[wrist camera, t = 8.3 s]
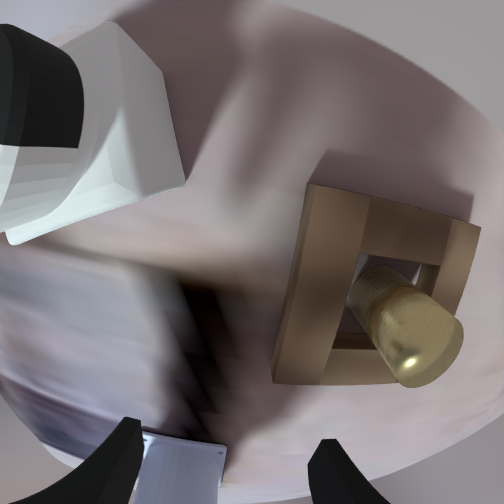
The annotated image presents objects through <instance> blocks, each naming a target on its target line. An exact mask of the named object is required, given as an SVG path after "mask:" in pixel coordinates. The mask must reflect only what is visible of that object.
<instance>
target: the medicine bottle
mask: <svg viewBox="0 0 504 504" xmlns="http://www.w3.org/2000/svg"><path fill="white" fill-rule="evenodd" d="M184 184H185V176H184V172H183V167H182V163H181V159H180V154H179V150H178V146H177V141H176V136H175V132H174V127H173V123H172V118H171V113H170V108H169V103H168V98H167V93H166V88H165V83H164V78H163V73H162V71H161V70H160V69H159V68H158V67H157V65H156V64H155V63H154V62H153V61H152V60H151V59H150V58H149V57H148V56H147V55H146V54H145V52H144V51H143V50H142V49H141V48H140V47H139V46H138V45H137V44H136V43H135V42H134V41H133V40H132V39H131V38H130V37H129V36H128V35H127V33H126V32H125V31H124V30H123V29H122V28H121V27H120V26H119V25H118V24H117V23H114V22H111V21H110V22H106V23H104V24H102V25H100V26H98V27H96V28H94V29H92V30H90V31H88V32H86V33H84V34H82V35H80V36H78V37H76V38H75V39H73V40H71V41H69V42H68V43H66V44H64V45H62V46H61V47H59V48H58V47H56V46H54V45H52V44H50V43H48V42H46V41H44V40H42V39H40V38H38V37H36V36H34V35H32V34H30V33H28V32H26V31H24V30H22V29H20V28H18V27H15V26H13V25H10V24H0V233H1V232H3V231H5V232H6V236H7V239H8V242H9V243H10V244H11V245H18V244H21V243H23V242H25V241H28V240H30V239H33V238H35V237H38V236H40V235H43V234H45V233H48V232H50V231H53V230H56V229H58V228H61V227H64V226H66V225H69V224H72V223H74V222H77V221H80V220H83V219H86V218H89V217H91V216H94V215H97V214H100V213H103V212H106V211H109V210H112V209H115V208H118V207H122V206H125V205H128V204H131V203H134V202H138V201H141V200H144V199H147V198H150V197H153V196H156V195H159V194H162V193H165V192H168V191H172V190H175V189H178V188H181V187H183V186H184Z"/></svg>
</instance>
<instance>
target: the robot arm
mask: <svg viewBox="0 0 504 504" xmlns="http://www.w3.org/2000/svg"><path fill="white" fill-rule="evenodd" d="M226 451H227V447H226V446H224V445H220V444H212V443H204V442H197V441H190V440H184V439H178V438H173V437H168V436H163V435H158V434H153V433H149V432H145V431H142V427H141V420H137V419H133V418H130V417H124V418H123V419H122V421H121V422H120V423H119V424H118V426H117V427H116V428H115V429H114V431H113V432H112V433H111V434H110V435H109V436H108V438H107V439H106V440H105V441H104V442H103V443H102V444H101V445H100V446H99V447H98V448H97V449H96V450H95V451H94V452H93V453H92V454H91V455H90V456H89V457H88V458H87V459H86V460H85V461H84V462H83V463H81V464H80V465H79V466H78V467H77V468H76V469H74V470H73V471H72V472H70V473H69V474H68V475H66V476H65V477H64V478H62V479H61V480H59V481H57V482H56V483H54V484H53V485H51V486H49V487H48V488H46V489H44V490H42V491H40V492H38V493H36V494H34V495H31V496H29V497H27V498H25V499H22V500H19V501H16V502H12V503H9V504H128V502H129V499H130V496H131V493H132V490H133V488H134V485H135V482H136V479H137V476H138V473H139V470H140V467H141V463H142V458H143V456H144V463H143V467H142V470H141V474H140V477H139V481H138V485H137V488H136V493H135V496H134V500H133V504H217V499H218V488H220V485H221V479H222V474H223V468H224V463H225V457H226ZM308 479H309V487H310V491H311V496H312V501H313V504H390V503H389V502H388V501H387V500H386V499H385V498H384V497H383V496H381V494H380V493H379V492H378V491H377V490H376V489H375V488H374V487H373V486H372V485H371V484H370V483H369V482H368V481H367V479H366V478H365V477H364V476H363V475H362V473H361V472H360V471H359V470H358V468H357V467H356V466H355V464H354V463H353V462H352V460H351V459H350V458H349V456H348V455H347V454H346V452H345V451H344V449H343V448H342V446H341V445H340V444H339V442H338V441H337V440H336V439H322V440H321V442H320V444H319V446H318V447H317V449H316V451H315V453H314V454H313V456H312V458H311V459H310V461H309V463H308Z"/></svg>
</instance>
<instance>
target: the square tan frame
mask: <svg viewBox="0 0 504 504" xmlns="http://www.w3.org/2000/svg"><path fill="white" fill-rule="evenodd" d="M480 231H481V227H479V226H476V225H473V224H470V223H467V222H464V221H461V220H458V219H455V218H451V217H448V216H445V215H441V214H438V213H434V212H431V211H427V210H424V209H420V208H416V207H413V206H409V205H405V204H401V203H397V202H393V201H389V200H385V199H381V198H377V197H373V196H368V195H364V194H359V193H355V192H350V191H345V190H341V189H336V188H331V187H326V186H321V185H316V184H310V183H307V187H306V193H305V198H304V204H303V210H302V216H301V221H300V227H299V232H298V237H297V243H296V248H295V253H294V258H293V264H292V269H291V274H290V278H289V283H288V288H287V293H286V298H285V303H284V307H283V312H282V316H281V321H280V326H279V330H278V334H277V339H276V343H275V348H274V352H273V356H272V360H271V372H272V380H273V383H275V384H293V385H370V384H388V383H399V382H398V380H397V379H396V377H395V376H394V374H393V372H392V371H391V369H390V368H389V366H388V365H387V363H386V362H385V360H384V359H383V357H382V356H381V354H380V353H379V351H378V350H377V348H376V347H375V345H374V344H373V342H372V341H371V339H370V338H369V336H368V335H367V334H357V333H338V332H337V330H338V327H339V323H340V320H341V317H342V314H343V310H344V307H345V303H346V300H347V296H348V293H349V289H350V286H351V282H352V278H353V274H354V270H355V267H356V263H357V259H358V254H359V253H363V254H370V255H376V256H383V257H389V258H395V259H402V260H408V261H414V262H420V263H423V264H422V267H421V270H420V274H419V277H418V280H417V284H416V286H417V287H418V288H419V289H421V290H422V291H423V292H424V293H426V294H427V295H428V296H429V297H431V298H432V299H433V300H434V301H436V302H437V303H438V304H439V305H440V306H442V307H443V308H444V309H445V310H447V311H448V312H449V313H450V314H451V315H453V316H454V315H455V313H456V310H457V307H458V305H459V302H460V299H461V297H462V294H463V291H464V288H465V285H466V282H467V279H468V276H469V272H470V269H471V266H472V262H473V259H474V255H475V251H476V248H477V244H478V240H479V235H480Z"/></svg>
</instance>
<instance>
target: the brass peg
mask: <svg viewBox="0 0 504 504" xmlns="http://www.w3.org/2000/svg"><path fill="white" fill-rule="evenodd" d="M349 305H350V309H351V311H352V313H353V314H354V316H355V317H356V319H357V320H358V321H359V323H360V324H361V326H362V327H363V329H364V330H365V332H366V333H367V335H368V336H369V338H370V339H371V341H372V342H373V344H374V345H375V347H376V348H377V350H378V351H379V353H380V354H381V356H382V357H383V359H384V360H385V362H386V363H387V365H388V366H389V368H390V369H391V371H392V372H393V374H394V376H395V377H396V379H397V380H398V382H399V383H400V384H401V385H403V386H405V387H408V388H416V387H421V386H424V385H426V384H428V383H430V382H432V381H434V380H435V379H437V378H438V377H439V376H441V375H442V374H443V373H444V372H445V371H446V370H447V369H448V368H449V367H450V366H451V364H452V363H453V362H454V360H455V359H456V357H457V355H458V353H459V351H460V349H461V346H462V343H463V337H464V331H463V327H462V324H461V323H460V322H459V321H458V320H457V319H456V318H455V317H454V316H453V315H451V314H450V313H449V312H448V311H447V310H445V309H444V308H443V307H442V306H440V305H439V304H438V303H437V302H436V301H434V300H433V299H432V298H431V297H429V296H428V295H427V294H426V293H424V292H423V291H422V290H421V289H419V288H418V287H417V286H415V285H414V284H413V283H412V282H410V281H409V280H408V279H406V278H405V277H404V276H402V275H401V274H400V273H398V272H397V271H396V270H395V269H393V268H391V267H389V266H375V267H372V268H370V269H368V270H366V271H365V272H363V273H362V274H361V275H360V276H359V277H358V278H357V280H356V281H355V282H354V284H353V286H352V288H351V291H350V295H349Z"/></svg>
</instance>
